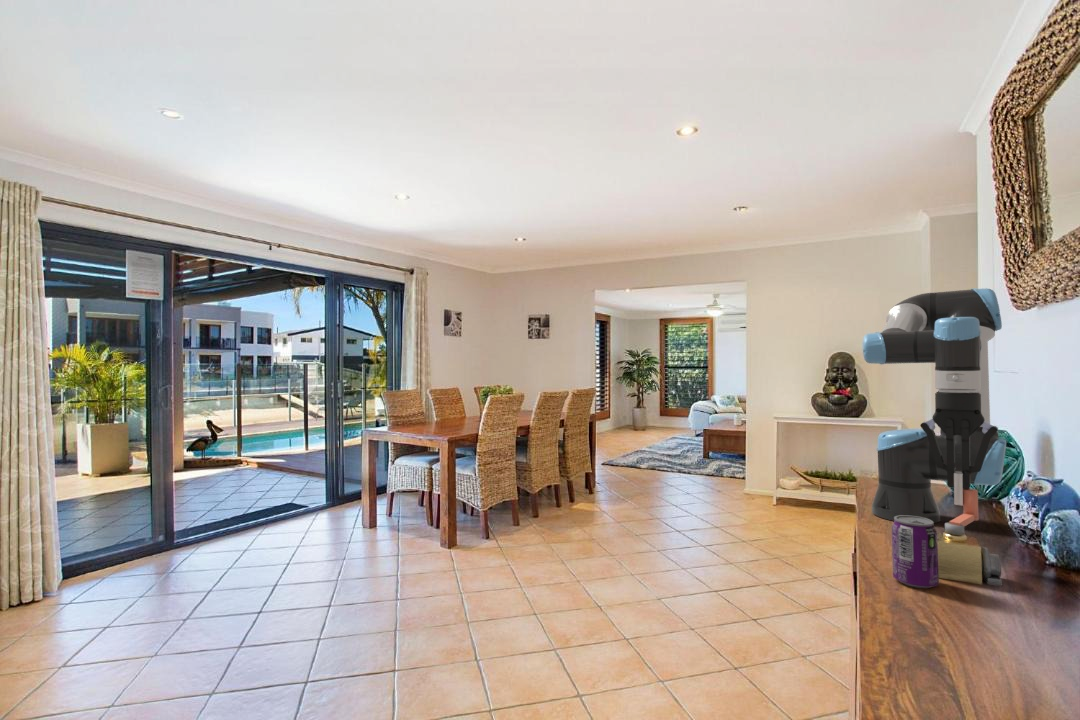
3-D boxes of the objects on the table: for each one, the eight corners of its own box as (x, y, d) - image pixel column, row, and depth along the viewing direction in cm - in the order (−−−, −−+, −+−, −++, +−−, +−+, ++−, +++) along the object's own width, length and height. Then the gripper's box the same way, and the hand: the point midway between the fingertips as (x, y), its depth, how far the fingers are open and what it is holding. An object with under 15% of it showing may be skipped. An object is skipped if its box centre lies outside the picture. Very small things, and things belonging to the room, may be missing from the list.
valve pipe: (914, 563, 109) (912, 525, 109) (995, 575, 102) (994, 534, 102) (916, 574, 104) (915, 533, 104) (1003, 587, 97) (1001, 544, 97)
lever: (961, 536, 101) (960, 500, 101) (942, 532, 103) (941, 497, 103) (982, 523, 108) (981, 490, 109) (964, 519, 111) (963, 487, 111)
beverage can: (947, 592, 96) (944, 526, 96) (903, 589, 97) (901, 524, 97) (926, 576, 103) (924, 514, 103) (886, 574, 104) (884, 513, 104)
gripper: (917, 391, 112) (918, 502, 112) (997, 392, 103) (999, 513, 103) (922, 389, 117) (923, 495, 117) (999, 391, 109) (1000, 505, 108)
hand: (959, 503), depth 110 cm, fingers closed
